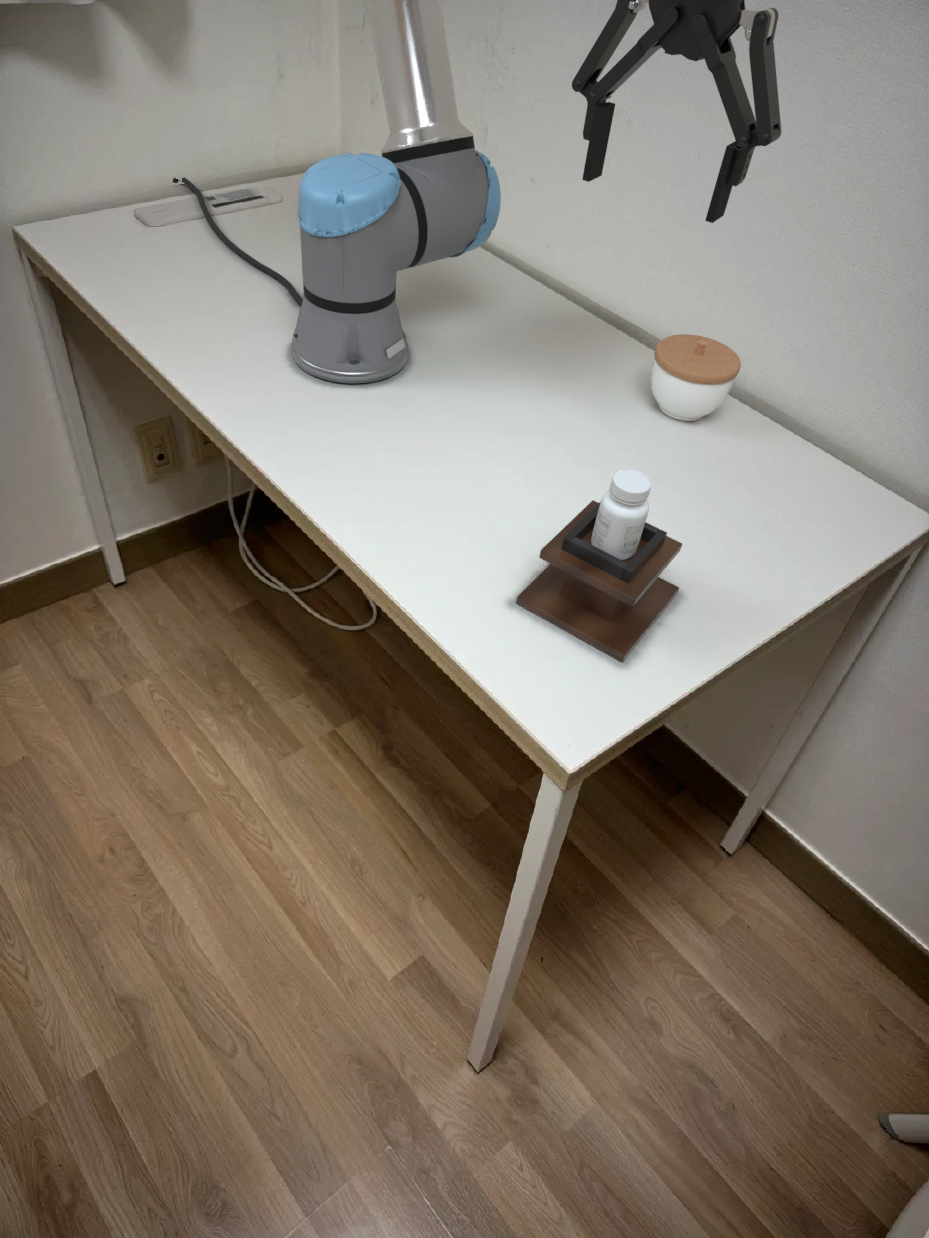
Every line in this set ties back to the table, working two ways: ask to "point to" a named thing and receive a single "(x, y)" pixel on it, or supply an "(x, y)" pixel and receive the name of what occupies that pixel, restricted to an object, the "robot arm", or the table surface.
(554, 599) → the stand
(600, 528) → the pill bottle
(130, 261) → the table surface
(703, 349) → the trinket box
